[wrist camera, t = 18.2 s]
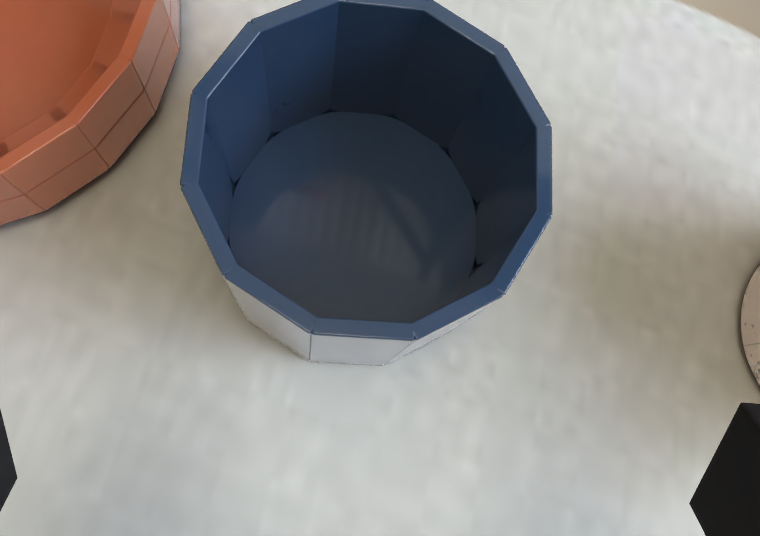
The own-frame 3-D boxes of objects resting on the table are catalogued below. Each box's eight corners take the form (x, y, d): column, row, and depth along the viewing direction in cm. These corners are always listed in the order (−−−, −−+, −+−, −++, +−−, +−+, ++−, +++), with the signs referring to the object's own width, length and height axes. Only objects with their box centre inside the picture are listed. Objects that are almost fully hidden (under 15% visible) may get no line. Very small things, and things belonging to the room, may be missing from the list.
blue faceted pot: (163, 264, 26) (103, 198, 19) (318, 61, 29) (322, -72, 21) (394, 418, 26) (431, 415, 18) (530, 198, 29) (614, 114, 21)
